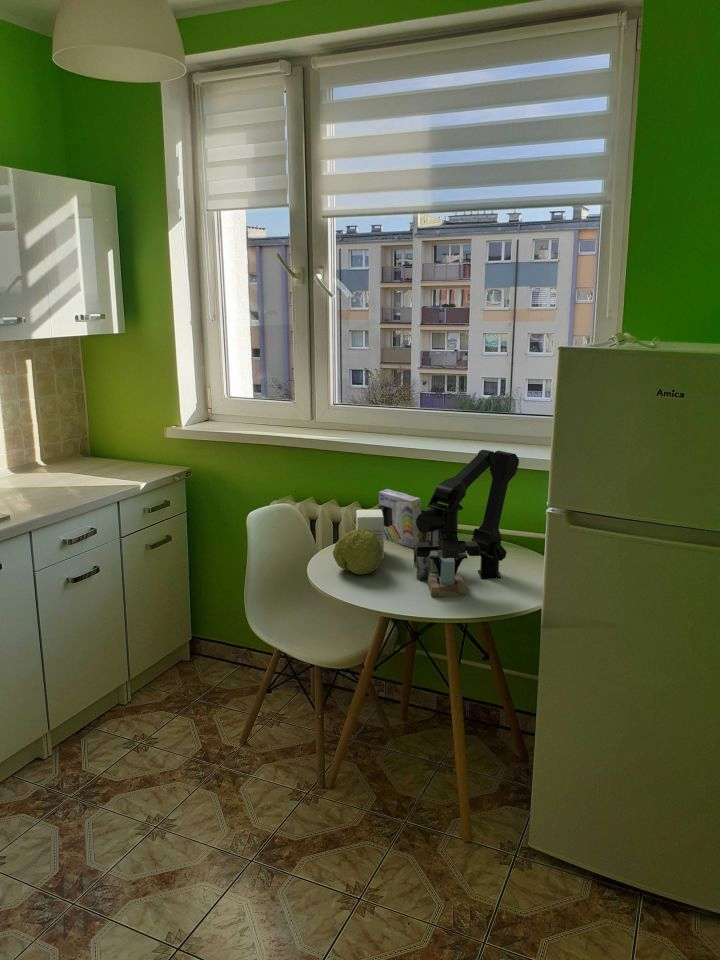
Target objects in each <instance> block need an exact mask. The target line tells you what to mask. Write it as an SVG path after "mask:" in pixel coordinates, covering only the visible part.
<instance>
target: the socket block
mask: <svg viewBox="0 0 720 960" xmlns="http://www.w3.org/2000/svg"><path fill="white" fill-rule="evenodd" d="M427 585H428V589H429V592H430V597H431V598H464V597H466V596H467V595H466V594H467V593H466V592H467V586H466V583H465V582H464V579H463V577H462V575H461V574H456V575H455V581H454V584H452V585H440V583H439V574H430V575H428V581H427Z"/></svg>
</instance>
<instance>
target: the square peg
mask: <svg viewBox="0 0 720 960" xmlns="http://www.w3.org/2000/svg"><path fill="white" fill-rule="evenodd" d="M440 570H441V575H440V577H439V583H440V585H452V584H454V581H455V561H454V558H447V559H445V558H440Z"/></svg>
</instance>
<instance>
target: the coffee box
mask: <svg viewBox="0 0 720 960" xmlns="http://www.w3.org/2000/svg"><path fill="white" fill-rule="evenodd" d="M416 519H417V518H416ZM416 519H414V548H413V566H414V567H416V568H417V556H416V552H415V544H416V543H417V542H428V543H429V546H438V530H435V531H432V532H428V533H422V532H420V531H419V530H418V528H417V525H416ZM438 555H439V558H443V557H442V553H441V552H438ZM437 572H438V571H437V567H436V565H435V562H434V560H433V559H430V573H437Z"/></svg>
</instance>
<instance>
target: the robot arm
mask: <svg viewBox="0 0 720 960" xmlns="http://www.w3.org/2000/svg"><path fill="white" fill-rule="evenodd" d="M519 464H520V458H519V457H518V456H517V454H516V453H512V452H507V451H503V450H496V451H494V450H493V451H492V450H487V449H481V450H479V451H478V453H477V455H476V456H475V457H474V458H473V459H471V460H470V461H469V462H468V464H467V465H466V466H464V467H463V468H462V469H461V470H460V471H459V472H458V473H457V474H456V475H455V476H453V477H448V478H447V479H445V480H443V481H441V482H440V483H439V484H438V485H437V486H436V488H435V490H434V491H433V494H432V496H431V498H430V499H429V502H428V505H427V507H428V508H421V514H419V515H418V517H417V519H416V525H417V528H418V530H419V531H420V532H422V533H428V532H432V531H435V530H438V546H429V543H428V542H417V543H416V544H415V552H416V556H417V557H428V556H429V558H430V559H433V560H434V562H435V565H436V567H437V571H436V572H437V575H439V577H440V575H441V570H440V558H439V555H438V552H441V553H442V557H443V558H445V559H447V558H453V559H454V561H455V575H457V572H458V570H459V567H460V565H461V563H462V562H463V561H464V560H465V559H468V556H469V557H480V569H477V573H478V575H479V578H480V579H483V580H484V579H502V575H501V573H500V562H501V561H503V560H504V559H506V557H507V553H508V551H507V550H506V549H505V548H504V547H503V546H502V534H501V531H500V529H499V528H500V527H499V526H500V521H501V517H502V513H503V508H504V503H505V499H506V495H507V491H508V487H509V486H508V485H509V482H510V481H511V480H512V479H513V478H514V477H515V475H516V474H517V471H518V468H519V466H520V465H519ZM488 468H489V472H490V475H491V484H490V488H489V494H488V496H487V502H486V505H485V510H484V514H483V515H484V516H483V520H482V524H481V525H480V526H479V527H478V528H476V527H475V528H474V529H473V533H472V538H471V541H470V540H469V541H467V540H459V538H458V534H459V533H458V531H459V530H458V527H459V526H458V525H459V524H458V523H459V511H462V510H464V507H463V506H462V505H461V504H460V503H461V502H462V500H463V499H464V498H465V496H466V495H467V489H468V488H470V486H471V485H472V484H473V483H474V482H475V481H476V480H478V478H479V477H480V476H481V475H482V474H484V472H485V471H486V470H487V469H488ZM467 555H468V556H467Z"/></svg>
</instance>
